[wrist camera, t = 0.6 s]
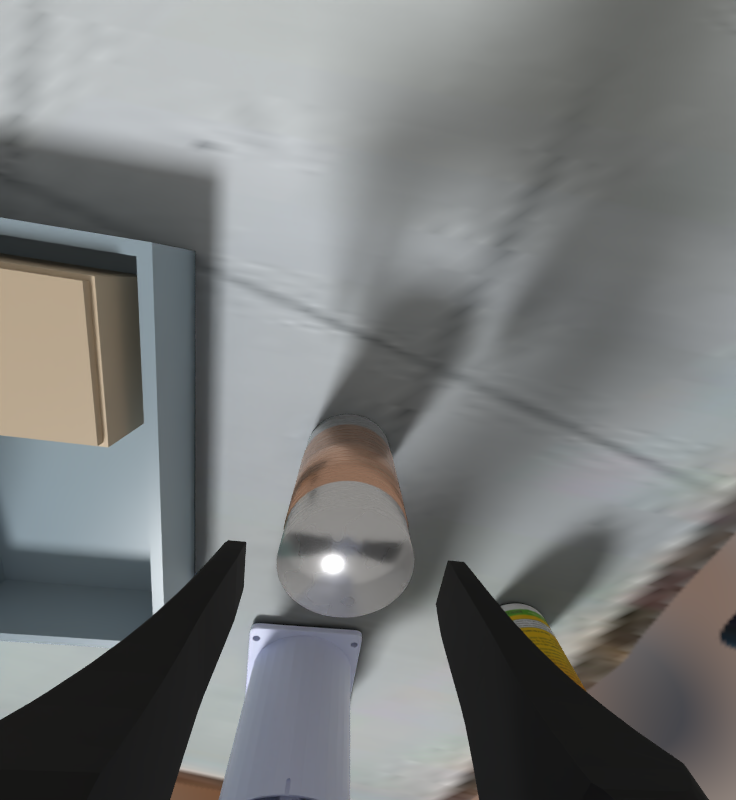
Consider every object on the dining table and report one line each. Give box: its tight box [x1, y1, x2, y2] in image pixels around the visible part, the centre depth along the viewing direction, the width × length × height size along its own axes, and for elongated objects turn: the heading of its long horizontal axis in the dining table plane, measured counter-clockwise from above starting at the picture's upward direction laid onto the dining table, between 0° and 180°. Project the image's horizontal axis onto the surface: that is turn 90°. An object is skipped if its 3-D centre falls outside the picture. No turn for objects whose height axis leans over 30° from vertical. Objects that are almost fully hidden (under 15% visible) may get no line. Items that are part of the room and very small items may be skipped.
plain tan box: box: [0, 253, 144, 447], centre depth 16 cm, size 7×9×5 cm
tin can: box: [277, 414, 414, 618], centre depth 17 cm, size 5×5×9 cm
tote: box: [0, 217, 195, 648], centre depth 18 cm, size 22×12×4 cm, turn 171°
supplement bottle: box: [500, 603, 586, 691], centre depth 22 cm, size 5×5×10 cm
